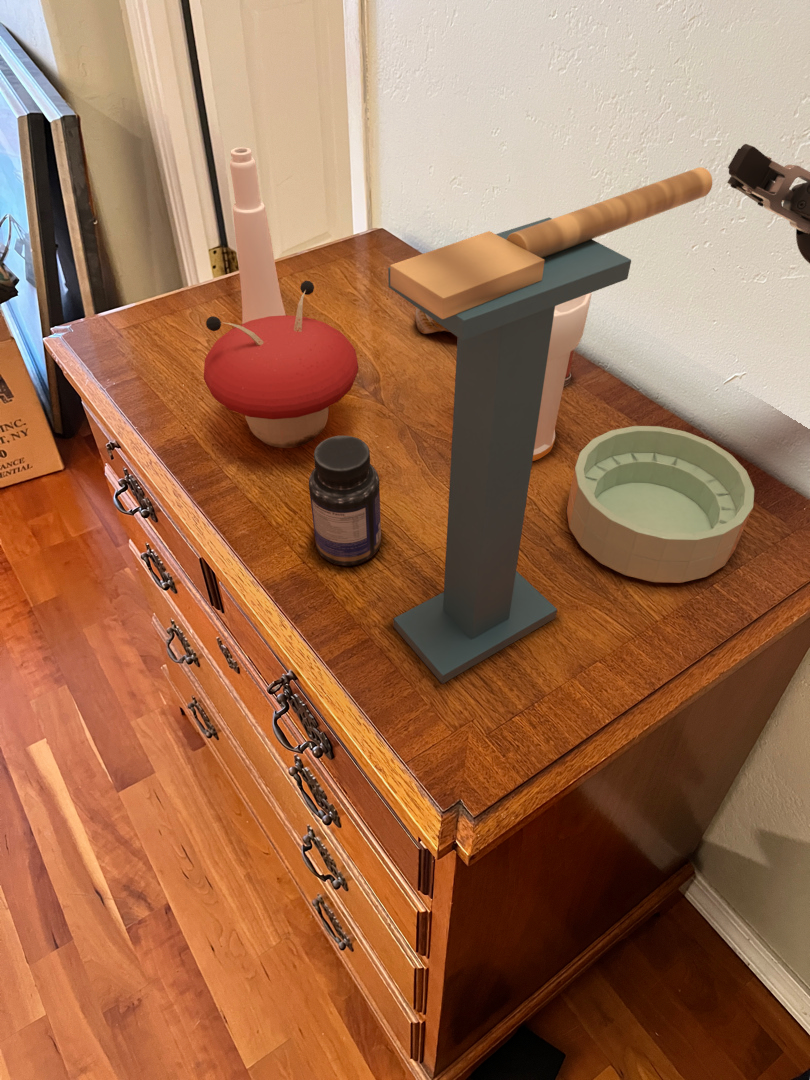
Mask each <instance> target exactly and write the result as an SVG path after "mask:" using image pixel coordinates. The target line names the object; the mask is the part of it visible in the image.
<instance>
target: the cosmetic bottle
mask: <svg viewBox="0 0 810 1080" xmlns="http://www.w3.org/2000/svg"><path fill="white" fill-rule="evenodd" d="M230 156H231V159H230V161H229V168H230V174H231V180H232V181H231V182H232V187H233V193H234V200H235V201H234V202H235V203H234V204H233V205H232V217H233V228H234V235H235V236H234V237H235V246H236V254H237V262H238V272H239V282H240V283H239V284H240V293H241V311H242V313H241V314H242V317H241V318H242V321H241V323H242V324H244V323H246V322H248V321H251V320H255V319H260V318H264V317H268V316H282V315H286V311H285V310H286V309H285V306H284V302H283V297H282V294H281V288H280V283H279V279H278V273H277V267H276V261H275V255H274V249H273V243H272V238H271V237H272V236H271V232H270V226H269V220H268V215H267V210H266V205H265V203H264V202H263V201H261V193H260V186H259V178H258V170H257V163H256V160H255V158H254V157H253V152H252V149H251V148H249V147H235V148H232V149H231V150H230Z"/></svg>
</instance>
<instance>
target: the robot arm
mask: <svg viewBox="0 0 810 1080" xmlns="http://www.w3.org/2000/svg"><path fill="white" fill-rule="evenodd" d="M727 169H728V175H729V176H730V177H729V178H728V180H727V184H728V185H730V186H729V187H730V188H732V189H735V190H737V191H739V192H740V193H742V194H743V195H745V196H746V197H748V198H749V199H751V200H753V201H754V202H755V203H757V206H759V207H761V208H764V209H766V210H768V211H770V212H771V213H773V214H774V215H777V216H779V217H781V218H782V219H785V220H786V221H788V222H789V225H790V227H792V228H794V229H795V238H796V239H795V241H796V245H797V248H798V251H799V253H800V255H801V257H802V258H803V259H804V260H805V261H806V262H807V263H808V264H810V170H809V171H808V170H807V169H806V168H804V167H801V166H800V165H796V164H786V165H785V166H783V165H781V164H780V163H778V162H776V161H774V160H772V157H770V156H768V155H765V154H764V153H763V152H762V151H760V150H759V149H758V148H756V147H755V146H753V145H750V144H747V143H744V144H742V146H741V147H740V148H738V149H737V151H736V152H735V154H734V156H733V157H732V159H731V161H730V163H729V165H728V166H727ZM797 178H798V179H801V180H802V181H803V182H802V183H798V184H796V185H793V183H794V182H795V180H796V179H797ZM792 185H793V187H792V188H791V186H792Z"/></svg>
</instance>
